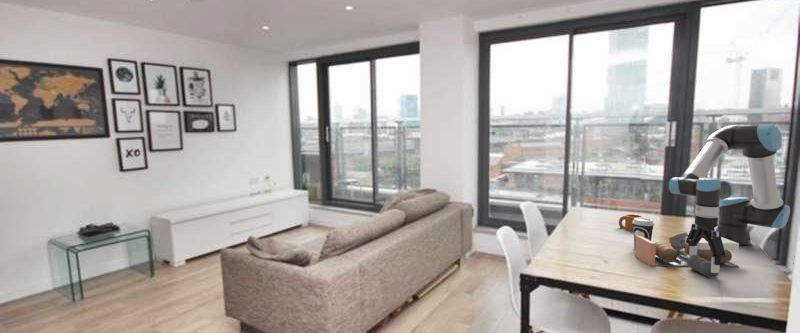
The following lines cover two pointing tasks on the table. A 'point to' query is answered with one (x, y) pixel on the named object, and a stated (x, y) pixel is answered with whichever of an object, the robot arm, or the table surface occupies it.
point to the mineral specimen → (678, 241)
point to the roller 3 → (701, 266)
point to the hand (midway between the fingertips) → (703, 266)
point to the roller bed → (684, 262)
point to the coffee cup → (643, 228)
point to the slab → (726, 243)
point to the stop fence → (645, 250)
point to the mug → (628, 221)
